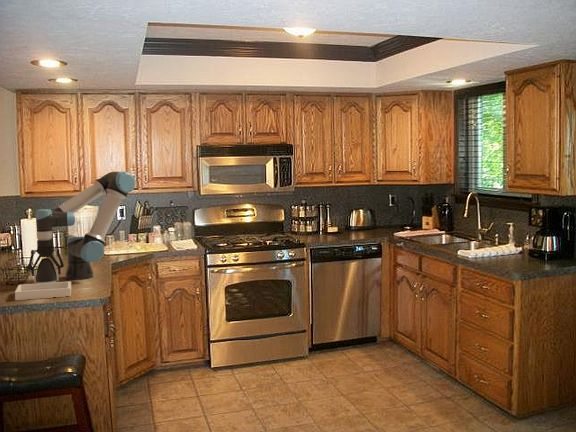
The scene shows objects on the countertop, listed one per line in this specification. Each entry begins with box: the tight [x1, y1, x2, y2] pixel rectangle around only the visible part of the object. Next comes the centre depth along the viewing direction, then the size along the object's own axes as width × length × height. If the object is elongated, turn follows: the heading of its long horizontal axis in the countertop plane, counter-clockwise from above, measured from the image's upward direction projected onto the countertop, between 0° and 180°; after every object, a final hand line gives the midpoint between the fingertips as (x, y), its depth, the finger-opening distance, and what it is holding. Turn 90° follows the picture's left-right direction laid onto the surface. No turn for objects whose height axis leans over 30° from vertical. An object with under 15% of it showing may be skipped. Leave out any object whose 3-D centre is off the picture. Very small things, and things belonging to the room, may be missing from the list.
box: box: [14, 280, 72, 301], centre depth 291 cm, size 24×18×4 cm
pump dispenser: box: [36, 257, 57, 284], centre depth 309 cm, size 10×10×15 cm
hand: (46, 281), depth 310 cm, fingers closed on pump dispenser, 10 cm apart
